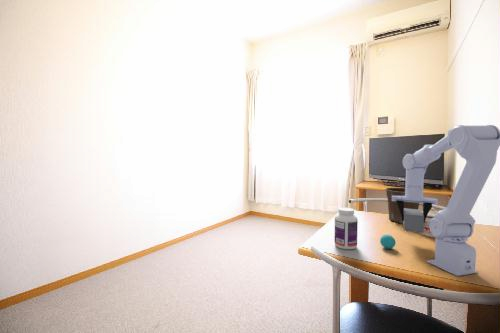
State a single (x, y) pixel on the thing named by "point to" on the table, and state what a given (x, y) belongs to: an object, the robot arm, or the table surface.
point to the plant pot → (392, 205)
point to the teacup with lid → (426, 225)
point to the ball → (387, 241)
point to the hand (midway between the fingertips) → (412, 221)
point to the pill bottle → (346, 229)
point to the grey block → (413, 220)
